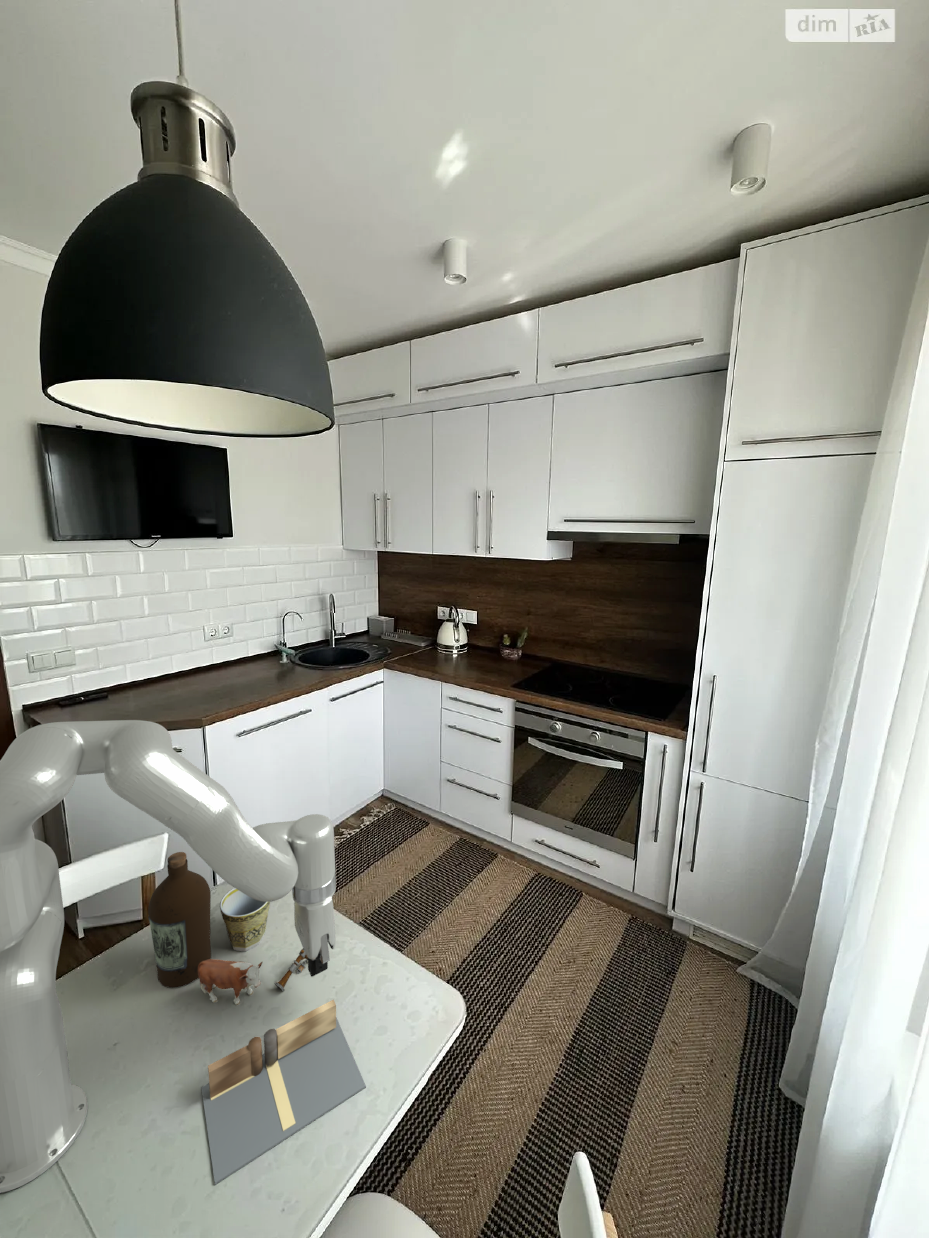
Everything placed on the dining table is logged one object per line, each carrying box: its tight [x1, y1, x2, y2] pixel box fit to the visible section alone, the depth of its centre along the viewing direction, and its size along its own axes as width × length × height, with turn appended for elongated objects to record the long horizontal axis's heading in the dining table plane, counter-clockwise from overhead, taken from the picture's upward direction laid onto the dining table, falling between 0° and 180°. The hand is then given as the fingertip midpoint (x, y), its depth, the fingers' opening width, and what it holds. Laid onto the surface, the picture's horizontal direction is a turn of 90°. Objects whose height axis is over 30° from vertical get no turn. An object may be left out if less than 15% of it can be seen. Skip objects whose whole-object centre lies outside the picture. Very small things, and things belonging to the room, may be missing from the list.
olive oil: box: [147, 851, 212, 989], centre depth 97 cm, size 11×11×25 cm
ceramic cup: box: [219, 887, 271, 952], centre depth 107 cm, size 13×10×10 cm
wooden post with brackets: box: [274, 947, 308, 992], centre depth 99 cm, size 2×8×4 cm, turn 149°
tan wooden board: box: [263, 999, 337, 1066], centre depth 85 cm, size 12×2×5 cm, turn 125°
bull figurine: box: [198, 958, 263, 1006], centre depth 93 cm, size 4×13×8 cm, turn 79°
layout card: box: [200, 1017, 367, 1186], centre depth 79 cm, size 22×14×1 cm, turn 124°
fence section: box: [207, 1036, 263, 1098], centre depth 79 cm, size 8×2×5 cm, turn 124°
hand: (318, 969), depth 92 cm, fingers closed
